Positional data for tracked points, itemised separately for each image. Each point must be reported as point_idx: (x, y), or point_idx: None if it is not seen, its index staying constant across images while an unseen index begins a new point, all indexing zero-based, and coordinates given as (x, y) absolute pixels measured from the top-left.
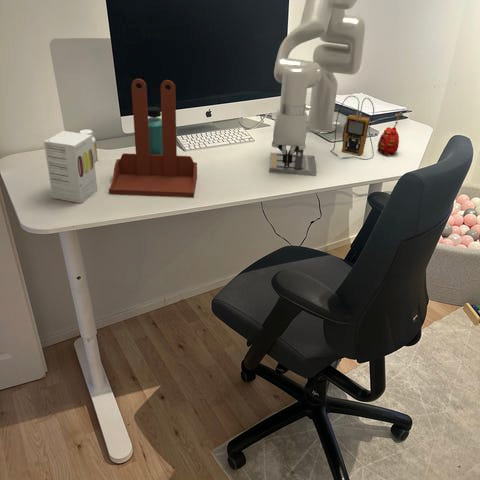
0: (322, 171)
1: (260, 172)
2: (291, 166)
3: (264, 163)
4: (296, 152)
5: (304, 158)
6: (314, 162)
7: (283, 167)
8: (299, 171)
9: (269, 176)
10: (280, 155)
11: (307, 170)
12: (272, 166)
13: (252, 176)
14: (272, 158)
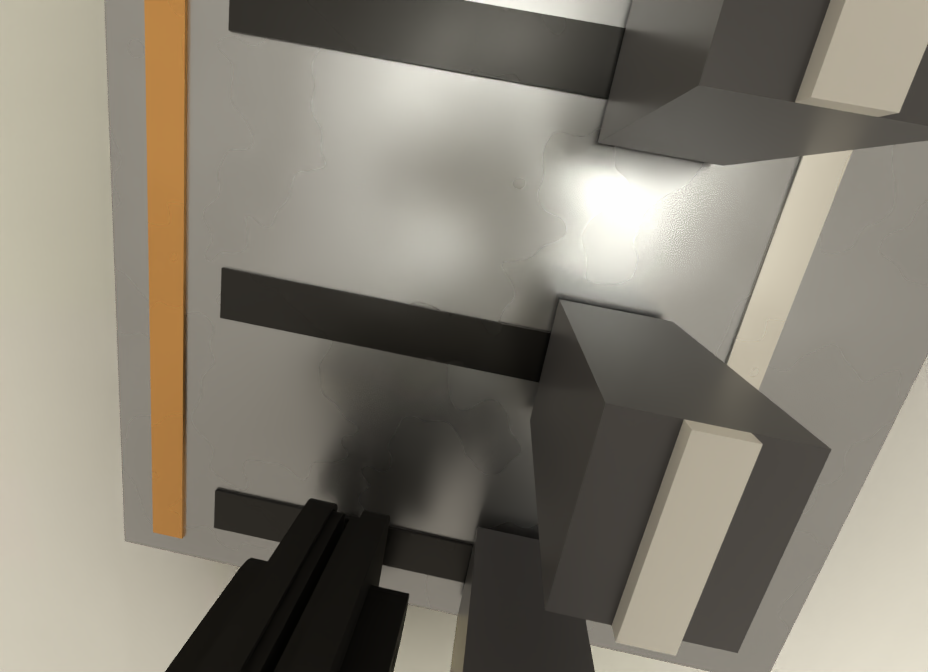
0: (892, 509)
1: (74, 487)
2: (432, 520)
3: (96, 215)
4: (622, 136)
5: (763, 202)
6: (886, 393)
7: None
8: None
9: (178, 585)
10: (299, 42)
11: (637, 649)
12: (159, 509)
13: (5, 570)
14: (148, 213)
